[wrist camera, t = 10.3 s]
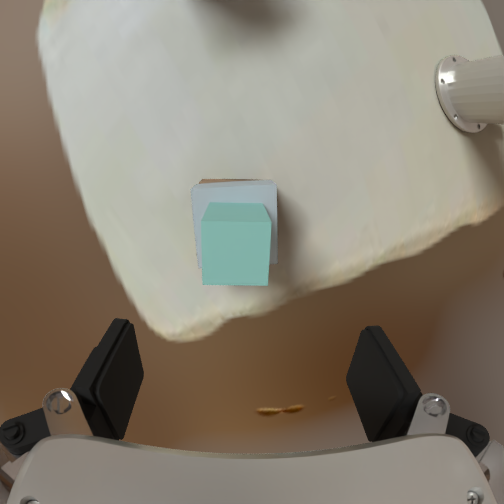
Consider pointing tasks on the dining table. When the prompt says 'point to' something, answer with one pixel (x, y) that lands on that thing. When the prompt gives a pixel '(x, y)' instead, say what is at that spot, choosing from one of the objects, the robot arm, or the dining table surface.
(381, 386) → the robot arm
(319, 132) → the dining table surface
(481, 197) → the dining table surface
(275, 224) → the tower top
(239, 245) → the block
